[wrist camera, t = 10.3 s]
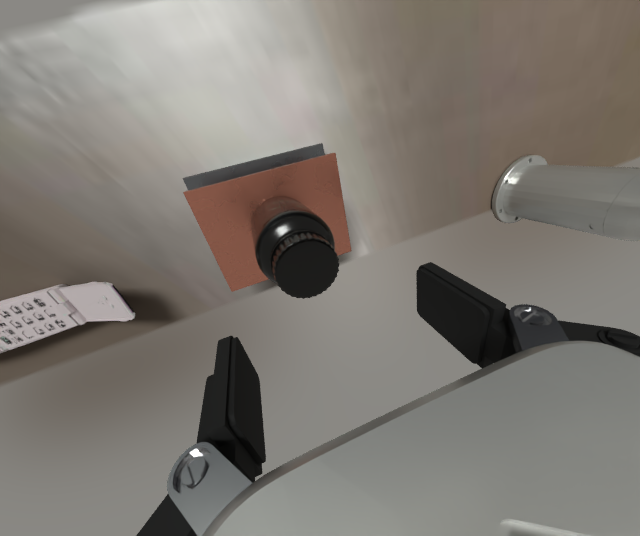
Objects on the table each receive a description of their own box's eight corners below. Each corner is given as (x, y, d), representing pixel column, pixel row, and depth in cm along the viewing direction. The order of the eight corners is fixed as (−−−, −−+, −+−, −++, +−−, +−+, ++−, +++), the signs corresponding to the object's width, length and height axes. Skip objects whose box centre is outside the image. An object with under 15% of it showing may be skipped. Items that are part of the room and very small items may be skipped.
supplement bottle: (303, 257, 29) (337, 312, 19) (246, 249, 27) (251, 308, 16) (316, 202, 27) (364, 232, 17) (256, 188, 24) (268, 212, 14)
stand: (319, 143, 32) (342, 140, 25) (337, 237, 39) (359, 255, 32) (184, 177, 29) (167, 184, 22) (229, 272, 36) (226, 301, 29)
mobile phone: (138, 319, 29) (-111, 405, 25) (153, 295, 34) (-51, 363, 30) (106, 278, 26) (-181, 368, 22) (128, 259, 31) (-101, 328, 27)
